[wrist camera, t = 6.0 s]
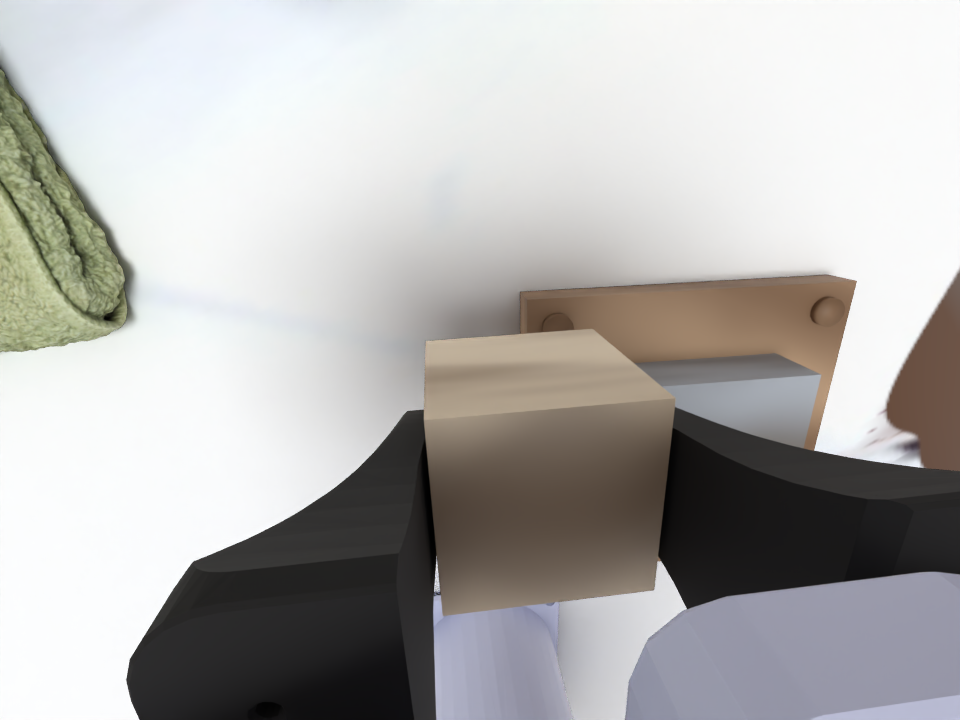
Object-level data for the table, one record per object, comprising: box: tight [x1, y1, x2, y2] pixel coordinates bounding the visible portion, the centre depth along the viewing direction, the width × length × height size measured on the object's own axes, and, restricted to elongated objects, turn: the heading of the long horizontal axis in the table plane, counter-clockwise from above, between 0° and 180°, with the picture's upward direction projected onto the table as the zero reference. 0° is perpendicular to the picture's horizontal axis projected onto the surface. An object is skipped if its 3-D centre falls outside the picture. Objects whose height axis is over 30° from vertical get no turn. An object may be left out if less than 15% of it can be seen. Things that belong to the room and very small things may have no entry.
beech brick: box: [424, 329, 676, 616], centre depth 11 cm, size 4×4×4 cm
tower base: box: [520, 275, 857, 561], centre depth 21 cm, size 14×14×4 cm
